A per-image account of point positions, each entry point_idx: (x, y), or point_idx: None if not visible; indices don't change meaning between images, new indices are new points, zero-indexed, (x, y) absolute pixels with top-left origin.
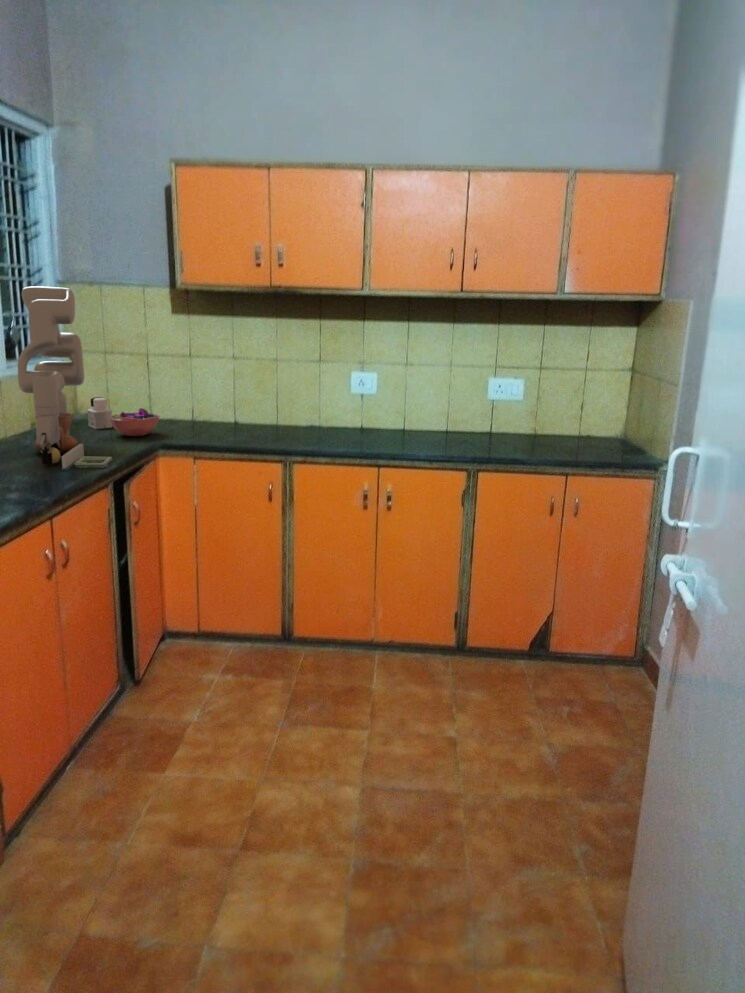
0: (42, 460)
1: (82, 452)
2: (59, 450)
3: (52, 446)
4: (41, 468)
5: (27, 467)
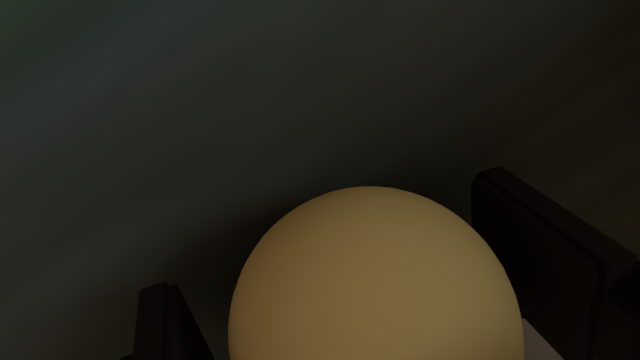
0: (140, 331)
1: None
2: (555, 342)
3: (624, 322)
4: (74, 285)
5: (3, 73)
